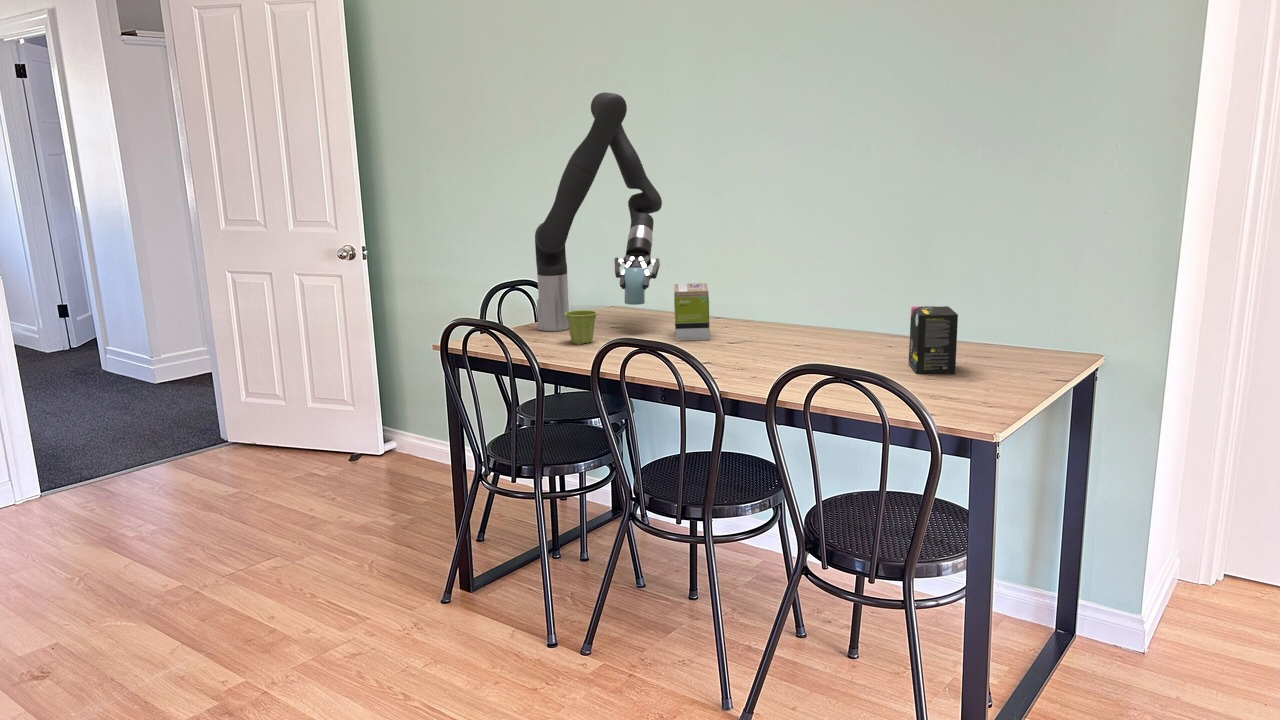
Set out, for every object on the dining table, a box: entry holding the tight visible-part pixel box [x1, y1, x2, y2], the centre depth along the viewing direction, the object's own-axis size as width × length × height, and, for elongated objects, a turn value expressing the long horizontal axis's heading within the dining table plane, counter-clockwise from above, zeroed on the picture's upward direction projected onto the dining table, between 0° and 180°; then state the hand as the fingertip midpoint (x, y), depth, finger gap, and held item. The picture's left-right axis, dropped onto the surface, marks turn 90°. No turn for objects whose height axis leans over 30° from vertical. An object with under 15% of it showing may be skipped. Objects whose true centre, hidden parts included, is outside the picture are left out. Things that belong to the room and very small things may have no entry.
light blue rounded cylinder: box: [624, 267, 646, 305], centre depth 273 cm, size 6×6×10 cm
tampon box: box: [908, 305, 959, 375], centre depth 221 cm, size 11×9×15 cm
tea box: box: [673, 282, 710, 341], centre depth 269 cm, size 15×10×15 cm
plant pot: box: [565, 309, 598, 345], centre depth 265 cm, size 9×9×9 cm
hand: (633, 287), depth 271 cm, fingers closed on light blue rounded cylinder, 6 cm apart
